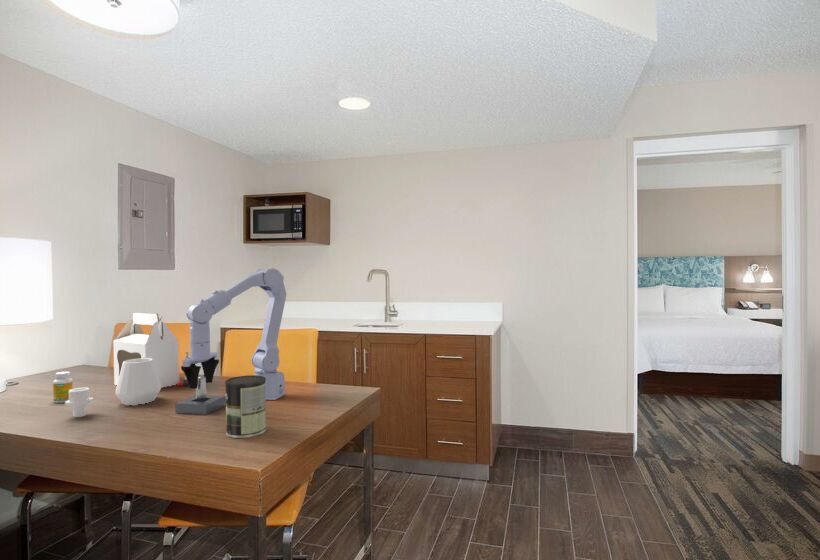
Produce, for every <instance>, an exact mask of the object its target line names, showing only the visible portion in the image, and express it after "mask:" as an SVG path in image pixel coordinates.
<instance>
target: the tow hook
mask: <svg viewBox="0 0 820 560" xmlns="http://www.w3.org/2000/svg"><path fill="white" fill-rule="evenodd" d="M188 356H189V352H188V351H187V352H185V357H184V358H185V359H187V358H188ZM185 359H184V360H185ZM176 386H178V387H189V384H188V380H187V378H186V376H185V375H184V379H183V380H181V381H179V382H178V384H177V385H176Z"/></svg>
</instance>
